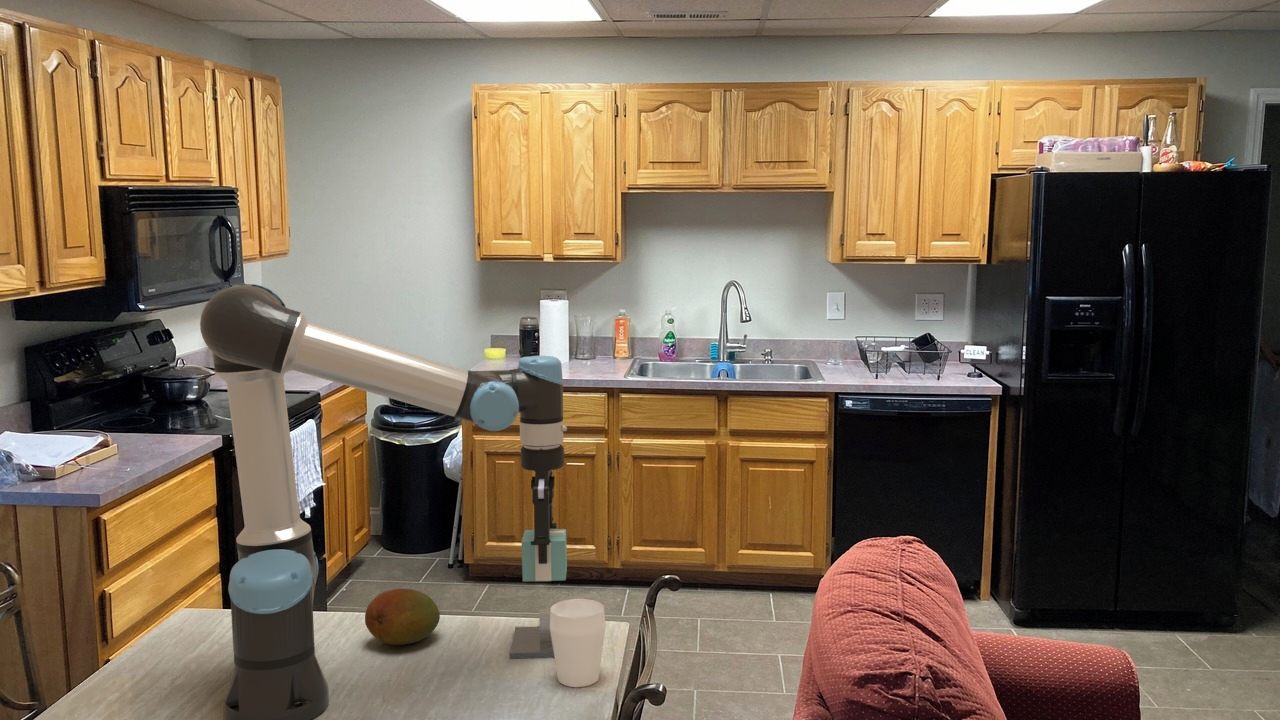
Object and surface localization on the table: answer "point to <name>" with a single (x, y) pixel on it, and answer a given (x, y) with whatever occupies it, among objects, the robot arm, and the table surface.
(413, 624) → the fruit
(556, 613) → the cup
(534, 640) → the shaft fixture
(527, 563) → the teal block
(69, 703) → the table surface
